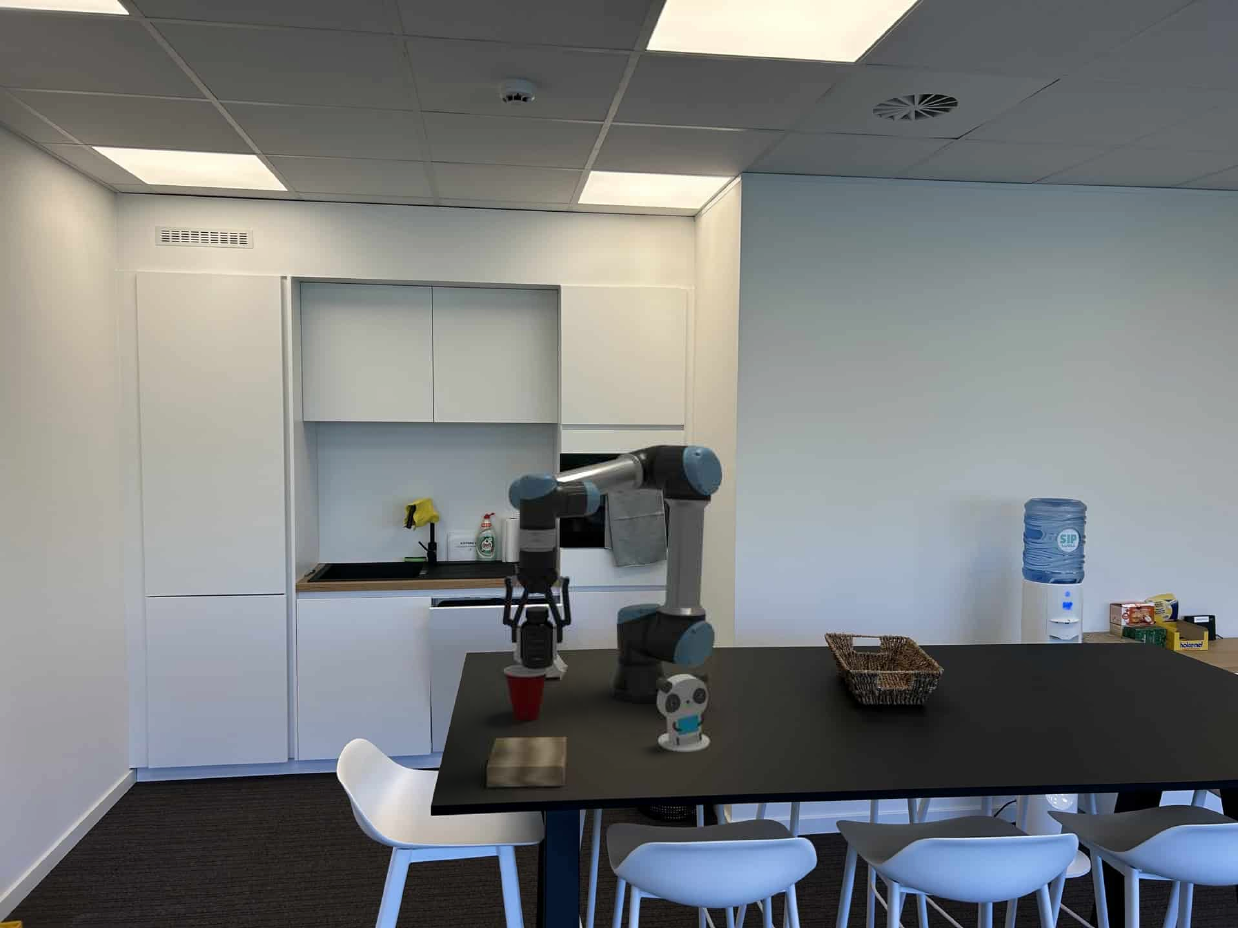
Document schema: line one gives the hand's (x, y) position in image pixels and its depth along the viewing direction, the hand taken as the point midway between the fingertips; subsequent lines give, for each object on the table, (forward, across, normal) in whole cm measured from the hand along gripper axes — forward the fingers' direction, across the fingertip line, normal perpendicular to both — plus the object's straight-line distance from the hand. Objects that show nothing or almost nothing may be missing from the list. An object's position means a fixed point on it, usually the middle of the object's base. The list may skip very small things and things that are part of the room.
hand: (537, 657), depth 182 cm
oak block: (+22, -1, -4) cm, 23 cm away
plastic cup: (+22, -5, +27) cm, 35 cm away
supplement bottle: (+2, 0, 0) cm, 2 cm away
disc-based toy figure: (+22, +32, +10) cm, 40 cm away
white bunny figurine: (+22, -4, +58) cm, 62 cm away
